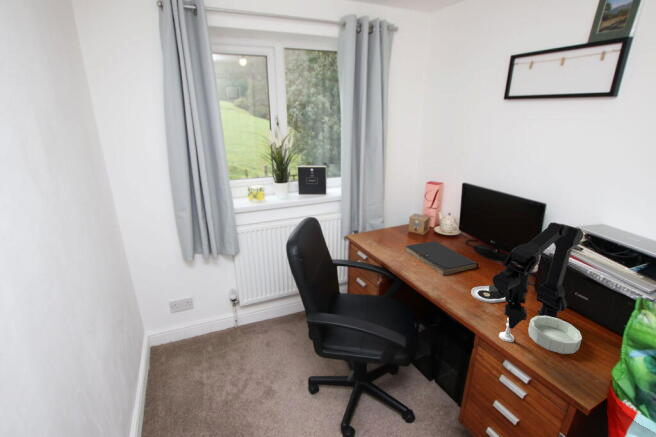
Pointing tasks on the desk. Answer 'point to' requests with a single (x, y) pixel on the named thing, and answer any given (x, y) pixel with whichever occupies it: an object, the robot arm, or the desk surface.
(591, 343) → the desk surface
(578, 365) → the desk surface
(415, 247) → the dark grey book
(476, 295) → the record player
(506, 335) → the chess piece
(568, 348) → the bowl
